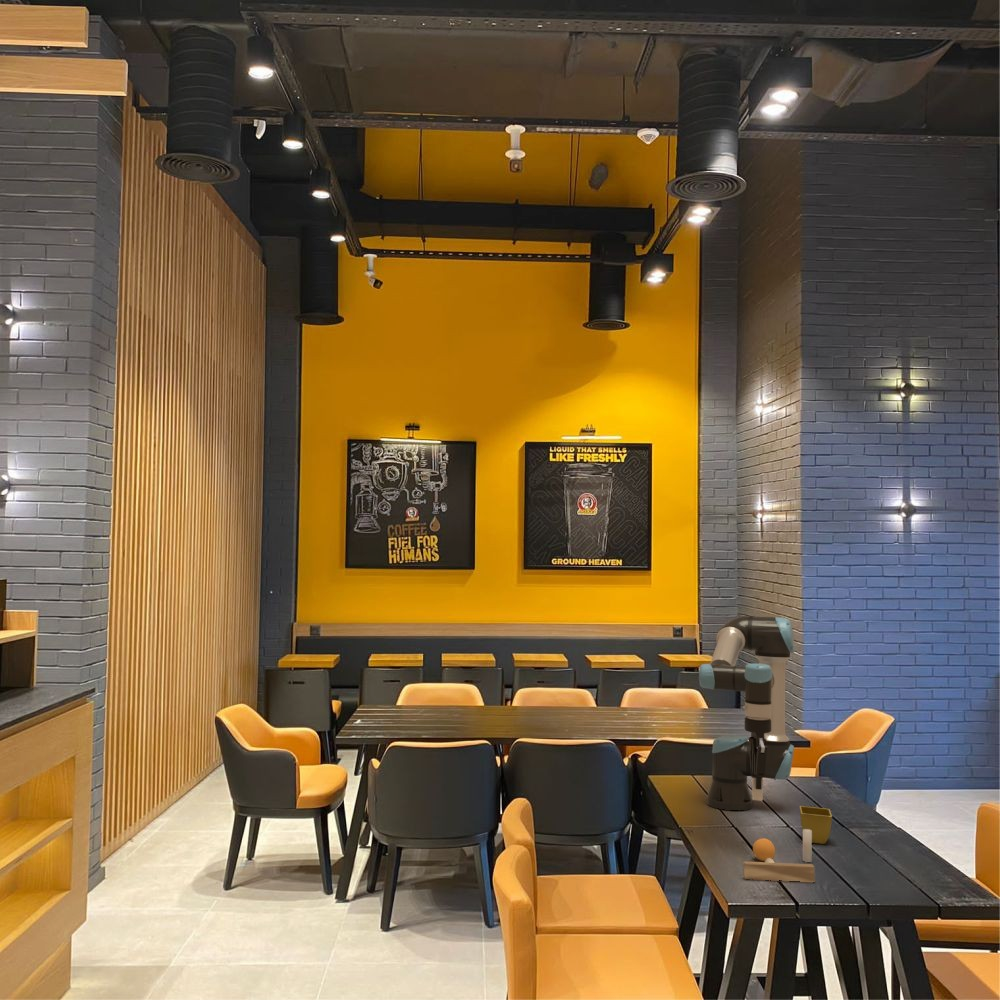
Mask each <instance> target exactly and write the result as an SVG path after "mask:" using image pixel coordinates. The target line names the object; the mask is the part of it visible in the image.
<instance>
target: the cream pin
mask: <svg viewBox="0 0 1000 1000" xmlns="http://www.w3.org/2000/svg"><path fill="white" fill-rule="evenodd" d="M764 862H767V863H776V862H775V861H774V859H773V858H772V859H771V858H767V859H766V860H765V861H764Z"/></svg>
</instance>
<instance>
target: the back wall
mask: <svg viewBox="0 0 1000 1000" xmlns="http://www.w3.org/2000/svg"><path fill="white" fill-rule="evenodd" d="M742 870H743V872H742V873H743V876H744V877H743V878H745V879H751V880H750V881H765V880H769V881H770V880H771V882H780V881H779V880H782V881H781V882H789V881H800V882H799V883H813V882H815V883H816V881H815V879H816V878H815V877H816V874H815V873H816V867H815V865H814V864H812V863H792V862H791V863H788V862H787V863H786V862H784V863H783V862H775V863H767V862H765V861H743V869H742ZM745 879H744V880H745ZM752 879H753V880H752ZM769 881H768V882H769Z"/></svg>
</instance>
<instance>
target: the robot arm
mask: <svg viewBox="0 0 1000 1000" xmlns="http://www.w3.org/2000/svg"><path fill="white" fill-rule="evenodd" d="M794 638H795V637H794V630H793V625H792V622H791V620H790V619H788V618H785V617H780V616H778V617H777V616H754V615H753V616H752V615H743V616H738V617H735V618H733V619H730V620H729V621H727V622H726V623H724V624H723V625H722V626H721V627H720V628H719V630H718V631H717V634H716V639H715V640H716V641H715V642H716V646H715V649H714V652H713V654H712V657H711V659H710V663H702V664H701V665H700V666H699V670H698V671H699V674H698V681H699V686H700V687H701V688H703V689H708V690H709V689H710V690H716V691H717V690H719V691H722V690H723V691H735V692H744V704H745V705H743V706H742V708H743V710H744V716H745V718H744V730H745V731H746V732H748V733H751V734H750V736H749V737H747V736H746V735H740V734H731V735H721V736H718V737H716V738H715V739H714V740H713V742H712V750H711V753H712V760H711V762H712V767H711V768H712V774H711V777H712V778H711V779H712V781H711V784H710V787H709V789H708V792H707V796H706V804H707V805H708V806H710V807H711V808H714V809H717V808H719V810H722V809H725V810H724V811H730V810H739V811H738V812H741V811H740V810H744V811H749V810H751V809H752V808H753V801H759V802H760V801H763V800H764V798H763V797H764V796H763V795H764V791H763V790H764V789H763V788H764V783H763V782H764V781H763V780H764V779H772V780H775V781H776V780H782V781H786V780H788V779H789V778H790V777H791V771H792V765H793V758H794V751H795V746H794V745H793V744H791V743H790V741H791V740H790V738H789V737H788V736H787V735H786V663H787V661H788V660H790V659H791V654H794V653H795V651H796V647H795V639H794ZM743 650H746V651H747V650H748V651H754V657H755V658H756V659H757V660H758V663H748V664H746V665H745V666H744V665H743V666H742V665H741V666H739V665H736V664H737V661H738V657H739V654H740V652H741V651H743ZM748 777H751V783H752V784H751V792H750V789H749V785H748ZM748 809H749V810H748Z"/></svg>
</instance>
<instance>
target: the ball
mask: <svg viewBox="0 0 1000 1000" xmlns="http://www.w3.org/2000/svg"><path fill="white" fill-rule="evenodd" d="M752 851H753V854H754V856H755V858H756V859H757V860H759V861H760V862H765V860H766V859H767V858H771V859H773V858H774V857H775V855H776V848H775V845H774V843H773V842H772V841H771V840H770V839H768V838H764V837H762V838H758V839H756V840H755V842H754V843H753V846H752Z"/></svg>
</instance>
